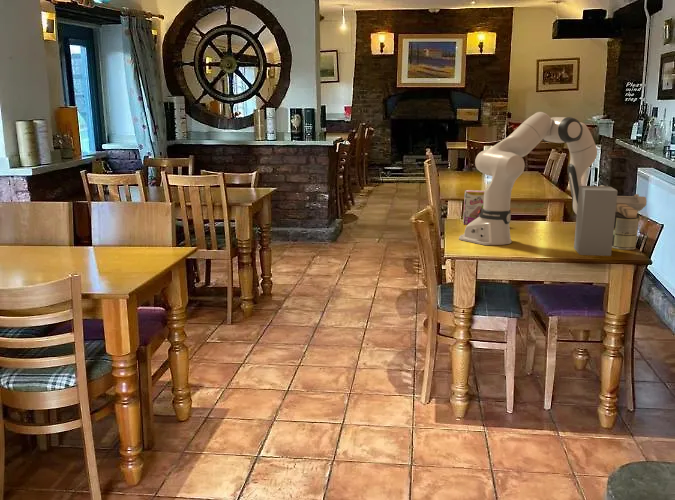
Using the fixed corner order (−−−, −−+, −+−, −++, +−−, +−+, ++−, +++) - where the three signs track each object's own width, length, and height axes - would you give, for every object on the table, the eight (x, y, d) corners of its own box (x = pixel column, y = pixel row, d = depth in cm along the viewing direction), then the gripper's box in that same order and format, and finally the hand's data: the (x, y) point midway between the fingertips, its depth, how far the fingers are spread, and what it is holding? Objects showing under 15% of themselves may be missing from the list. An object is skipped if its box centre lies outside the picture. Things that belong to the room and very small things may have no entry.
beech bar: (636, 218, 268) (637, 210, 267) (627, 217, 268) (628, 210, 267) (622, 209, 286) (623, 202, 285) (614, 209, 286) (615, 202, 286)
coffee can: (603, 245, 282) (607, 212, 279) (622, 243, 286) (625, 211, 283) (622, 250, 273) (626, 216, 270) (641, 248, 277) (645, 215, 274)
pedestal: (611, 255, 264) (617, 190, 258) (579, 254, 266) (585, 189, 260) (604, 249, 276) (610, 186, 270) (573, 247, 278) (579, 185, 272)
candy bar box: (463, 224, 325) (465, 191, 321) (462, 222, 330) (464, 189, 326) (487, 225, 324) (489, 191, 320) (485, 223, 329) (487, 190, 325)
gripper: (591, 199, 295) (598, 188, 282) (640, 200, 292) (650, 189, 279) (591, 213, 293) (599, 202, 280) (640, 214, 290) (650, 203, 277)
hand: (625, 195), depth 279 cm, fingers open, 8 cm apart
